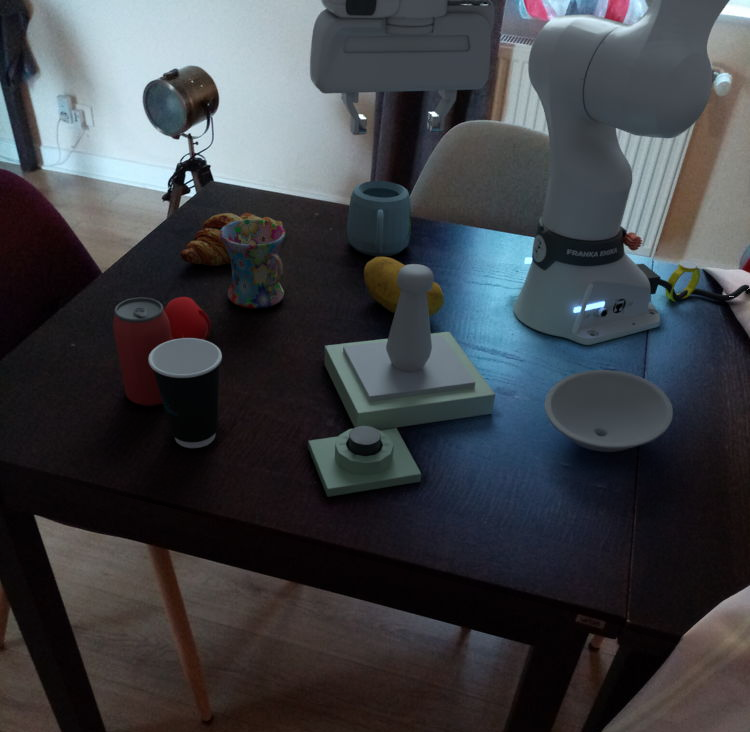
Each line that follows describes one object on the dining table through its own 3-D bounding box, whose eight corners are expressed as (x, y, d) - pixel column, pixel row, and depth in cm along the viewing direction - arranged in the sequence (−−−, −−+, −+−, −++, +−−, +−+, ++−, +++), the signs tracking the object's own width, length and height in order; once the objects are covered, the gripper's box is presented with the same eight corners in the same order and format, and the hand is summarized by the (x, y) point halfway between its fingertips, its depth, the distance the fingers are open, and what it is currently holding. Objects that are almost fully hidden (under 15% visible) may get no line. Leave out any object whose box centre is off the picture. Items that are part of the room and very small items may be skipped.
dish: (616, 499, 89) (628, 465, 85) (511, 443, 95) (518, 410, 92) (683, 433, 99) (696, 400, 96) (584, 387, 106) (593, 355, 102)
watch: (683, 291, 129) (695, 257, 125) (696, 298, 127) (709, 264, 123) (657, 298, 127) (669, 263, 123) (670, 306, 125) (682, 271, 121)
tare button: (374, 435, 91) (375, 423, 90) (384, 454, 88) (385, 442, 87) (344, 440, 90) (345, 427, 89) (353, 459, 87) (354, 446, 86)
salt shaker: (425, 379, 98) (436, 283, 90) (381, 372, 99) (387, 276, 90) (432, 355, 103) (443, 261, 94) (389, 349, 103) (397, 255, 95)
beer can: (133, 413, 96) (117, 326, 88) (120, 386, 100) (103, 300, 92) (186, 401, 98) (174, 315, 91) (170, 375, 103) (158, 291, 95)
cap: (219, 350, 108) (216, 310, 104) (177, 360, 106) (172, 320, 102) (198, 323, 113) (194, 285, 109) (158, 332, 111) (152, 293, 107)
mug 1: (214, 295, 120) (207, 227, 113) (265, 280, 124) (262, 214, 117) (256, 327, 113) (252, 258, 106) (309, 310, 118) (308, 242, 111)
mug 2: (410, 273, 129) (415, 213, 122) (343, 269, 129) (345, 209, 122) (408, 235, 140) (413, 179, 134) (347, 232, 140) (349, 175, 133)
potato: (413, 338, 113) (418, 293, 108) (352, 299, 121) (353, 255, 116) (449, 324, 117) (455, 280, 112) (387, 287, 125) (390, 244, 120)
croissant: (270, 248, 141) (254, 203, 138) (306, 238, 134) (290, 190, 131) (176, 283, 128) (156, 234, 125) (210, 274, 121) (190, 221, 118)
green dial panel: (395, 435, 95) (397, 415, 93) (420, 481, 89) (423, 461, 87) (308, 448, 93) (307, 428, 91) (327, 497, 86) (327, 476, 84)
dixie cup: (147, 445, 91) (133, 364, 84) (183, 410, 97) (173, 331, 90) (207, 463, 90) (198, 382, 82) (240, 426, 95) (234, 347, 88)
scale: (446, 350, 111) (450, 326, 109) (492, 413, 100) (496, 389, 97) (324, 364, 107) (324, 340, 104) (357, 433, 95) (358, 407, 93)
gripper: (485, -13, 87) (469, 120, 96) (305, -15, 81) (306, 126, 91) (509, -2, 82) (489, 136, 91) (320, -3, 77) (319, 144, 86)
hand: (397, 131), depth 91 cm, fingers open, 8 cm apart
